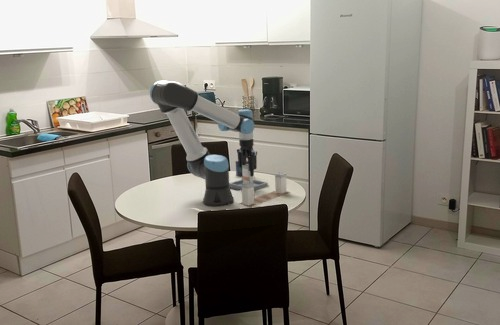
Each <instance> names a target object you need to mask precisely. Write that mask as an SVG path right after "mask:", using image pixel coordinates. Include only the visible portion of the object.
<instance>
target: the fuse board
mask: <svg viewBox="0 0 500 325" xmlns="http://www.w3.org/2000/svg"><path fill="white" fill-rule="evenodd" d="M290 193H291V191H287V192H285V193H283V194H280V193H276V190H274V191H271V192H268V193H266V194H263V195H260V196H257V197H254V204H251V205H249V206H248V205H245V204H243V201H241V202H239V203H238V205H242V206H245V207H249V208H251V207H254V206H257V205H259V204H260V205H261V204H262V203H265V202H267V201H270V200H273V199H276V198H279V197H281V196H284V195H288V194H290Z"/></svg>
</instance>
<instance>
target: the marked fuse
mask: <svg viewBox="0 0 500 325" xmlns="http://www.w3.org/2000/svg"><path fill="white" fill-rule="evenodd" d="M248 170H249V164H245V165H242V171H243V176H242V179H243V183H247V182H249V173H248ZM249 183H253V182H249Z"/></svg>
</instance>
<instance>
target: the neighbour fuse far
mask: <svg viewBox="0 0 500 325" xmlns="http://www.w3.org/2000/svg"><path fill="white" fill-rule="evenodd" d="M274 180H275V181H274V182H275V185H274V187H275V191H276V193H280V194H283V193H285V192H288V191H287V172H280V171H279V172H277V173H274Z"/></svg>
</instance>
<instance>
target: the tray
mask: <svg viewBox="0 0 500 325" xmlns="http://www.w3.org/2000/svg"><path fill="white" fill-rule="evenodd" d="M242 184H244V183H243V178H242V179H238V180H236V181H232V182H229V187H230V189H232V190H236V191H242ZM253 184H254V191H256V190H259V189H262V188H265V187H267V186H268V185H269V182H267V181H263V180H258V179H254V178H253Z"/></svg>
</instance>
